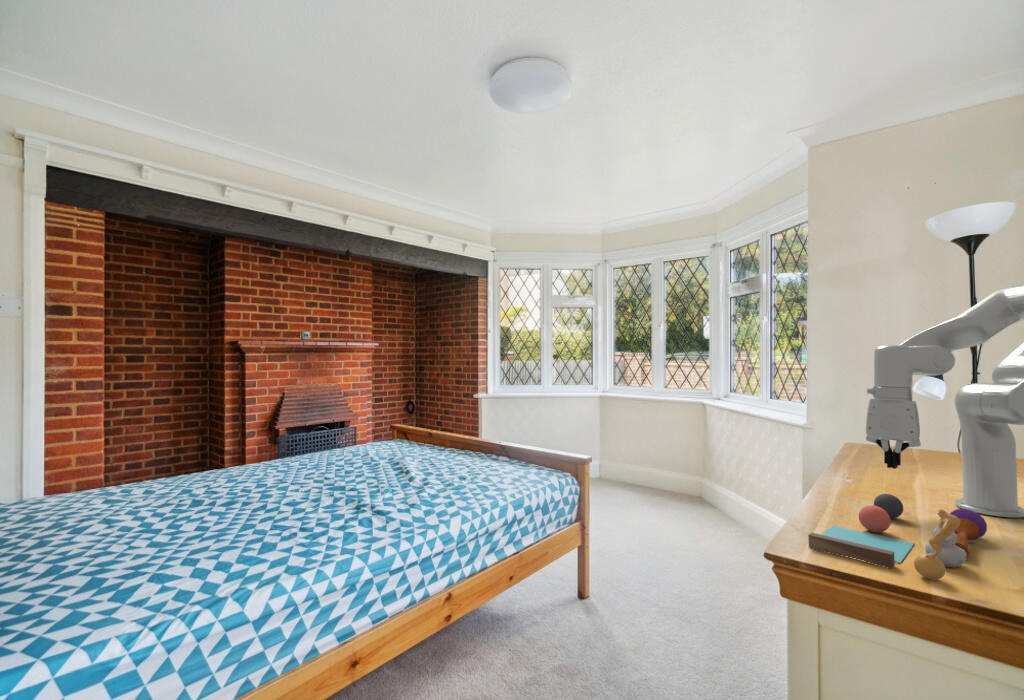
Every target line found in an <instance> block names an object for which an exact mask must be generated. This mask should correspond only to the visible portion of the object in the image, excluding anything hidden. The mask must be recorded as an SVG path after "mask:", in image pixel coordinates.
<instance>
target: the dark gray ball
mask: <svg viewBox="0 0 1024 700" xmlns="http://www.w3.org/2000/svg"><path fill="white" fill-rule="evenodd" d="M873 506H878V507H880V508H882V509H884V510H885V511H886V512H887V513H888V515H889V517H890V519H896V518H899V517H900V516H901V515H903V512H904V504H903V502H902V501H901V499H899V498H898V497H897V496H896V495H893V494H890V493H882V494H879V495H877V496H876V497H875V498H874V500H873Z"/></svg>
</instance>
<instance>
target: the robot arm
mask: <svg viewBox="0 0 1024 700" xmlns="http://www.w3.org/2000/svg"><path fill="white" fill-rule="evenodd" d="M1023 320H1024V284H1019V285H1013V286H1008V287H1004V288H1002V289H1001V288H1000V289H998V290H997V291H995V292H993V293H991V294H990V295H988V296H987V297H985V298H984V299H982V300H981V301H979V302H977V303H976V304H974V305H973V306H971V307H970V308H968V309H967V310H965V311H964V312H962V313H960V314H959V315H957V316H955V317H953V318H951V319H948V320H946V321H944V322H942V323H939V324H937V325H935V326H932V327H930V328H927V329H926V330H923V331H921V332H919V333H917V334H914V335H913V336H911V337H910V338H908V339H907V340H905V341H903V342H901V343H900V344H899V345H896V344H895V345H892V344H891V345H887V344H886V345H879V346H877V347H876V348H875V349H874V352H873V353H874V355H873V357H874V358H873V359H874V360H873V363H874V364H873V365H874V366H873V369H874V370H873V374H874V375H873V387H872V388H867V390H866V391H867V392H866V393H867V394H868V395H872V396H873V398H869V401H868V406H867V414H866V423H865V433H866V437H865V440H866V441H867V442H870V443H873V444H877V446H879V448H881V449H882V451H884V453H883V454H884V456H883V457H884V460H883V461H884V462H883V463H884V465H885V464H886V468H888V469H891V468H892V469H894V470H896V469H898V467H900V466H901V463H902V462H901V461H902V459H901V458H902V457H901V455H902V452H903V451H904V450H906V449H908V448H918V447H920V446H921V445H922V443H921V440H920V434H921V430H920V429H921V428H920V427H921V426H920V418H919V417H920V416H919V409H918V405H917V402H916V400H913V376H930V377H931V376H940V375H944V374H946V373H948V372H950V371H951V370H952V369H953V368H954V366H955V364H956V358H955V357H956V356H955V355H954V353H953V352H954V351H958V350H964V349H967V348H968V349H969V348H972V347H975V346H980V345H982V344H985V343H987V342H989V341H991V340H992V339H994V338H995V337H997V336H998V335H1000V334H1001V333H1004V331H1006V330H1008V329H1009V328H1010V327H1012V326H1014V325H1015V324H1017V323H1019V322H1020V321H1023ZM991 379H992V382H975V383H970V384H966V385H965V386H963V387H961V388H960V389H958V391H957V393H956V394H955V398H954V404H955V410H956V413H957V416H958V420H959V426H960V433H961V435H960V436H961V462H962V466H961V467H962V495H963V496H962V497H963V498H957V499H955V501H954V504H955V506H956V507H958V509H968V510H972V511H974V512H976V513H978V514H980V515H981V514H982V515H987V516H994V517H1001V518H1009V519H1011V518H1012V519H1013V518H1014V519H1017V518H1018V519H1020V518H1021V519H1022V518H1024V508H1023V507H1022V506H1021V507H1020V506H1019V502H1018V500H1019V497H1018V474H1017V473H1018V472H1017V471H1018V469H1017V443H1016V438H1015V435H1014V432H1013V431H1012V428H1011V427H1010V426H1009V425H1016V426H1024V341H1023V342H1021V344H1020V345H1018V346H1017V347H1016V348H1015V349H1014V350H1013V351H1012V352H1011V353H1009V354H1008V355H1007V356H1006V357H1005V358H1003V360H1001V361H1000V362H999V363H998V364H997V365H996V366H995V367H994V369H993V370H992V372H991ZM891 441H895V444H894V445H895V446H894V449H893V448H892V447H891V443H890V442H891ZM892 449H893V450H892Z"/></svg>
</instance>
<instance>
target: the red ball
mask: <svg viewBox="0 0 1024 700" xmlns="http://www.w3.org/2000/svg"><path fill="white" fill-rule="evenodd" d="M858 520H859V523H860V524H861V526H863V527H864V528H865V529H867V531H870V532H873V533H882V532H885V531H887V530H888V529H889V528H890V526H891V518H890V517H889V515H888V513H887V512H886V511H885V510H884V509H882V508H880V507H878V506H874V504H872V505H866V506H864V507H862V508H861V509H860V510H859V513H858Z"/></svg>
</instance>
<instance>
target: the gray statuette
mask: <svg viewBox="0 0 1024 700" xmlns="http://www.w3.org/2000/svg"><path fill="white" fill-rule="evenodd" d="M939 531H940V525H939V524H937V525H936V527H935V528H934V530H933V534H932V535H933V536H932V537H934V536H935V535H936V534H937V533H938V532H939ZM955 543H956V534H955V532H954V531H953V532H952V534H951V535H950V536H948V537H947V538H946V539H944V540H943V541H942V542H939V544H941V545H942V551H941V552H940V553H939V554H938V555H937V558H939V559H940V560H941V561H942V562H943V564H944V566H945V568H946V567H947V568H957V567H959V566H961V565H963V564H965V562H966V561H967V559H966V556H967V554H966V552H965V550H963V549H961V548H959V547H958V546H955ZM934 545H935V544H934ZM924 549H925V554H929V553H934V552H936V550H934V549H933V547H932V546H931V545H930V544H929V541H928V542H927V543H926V544H925V547H924Z"/></svg>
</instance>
